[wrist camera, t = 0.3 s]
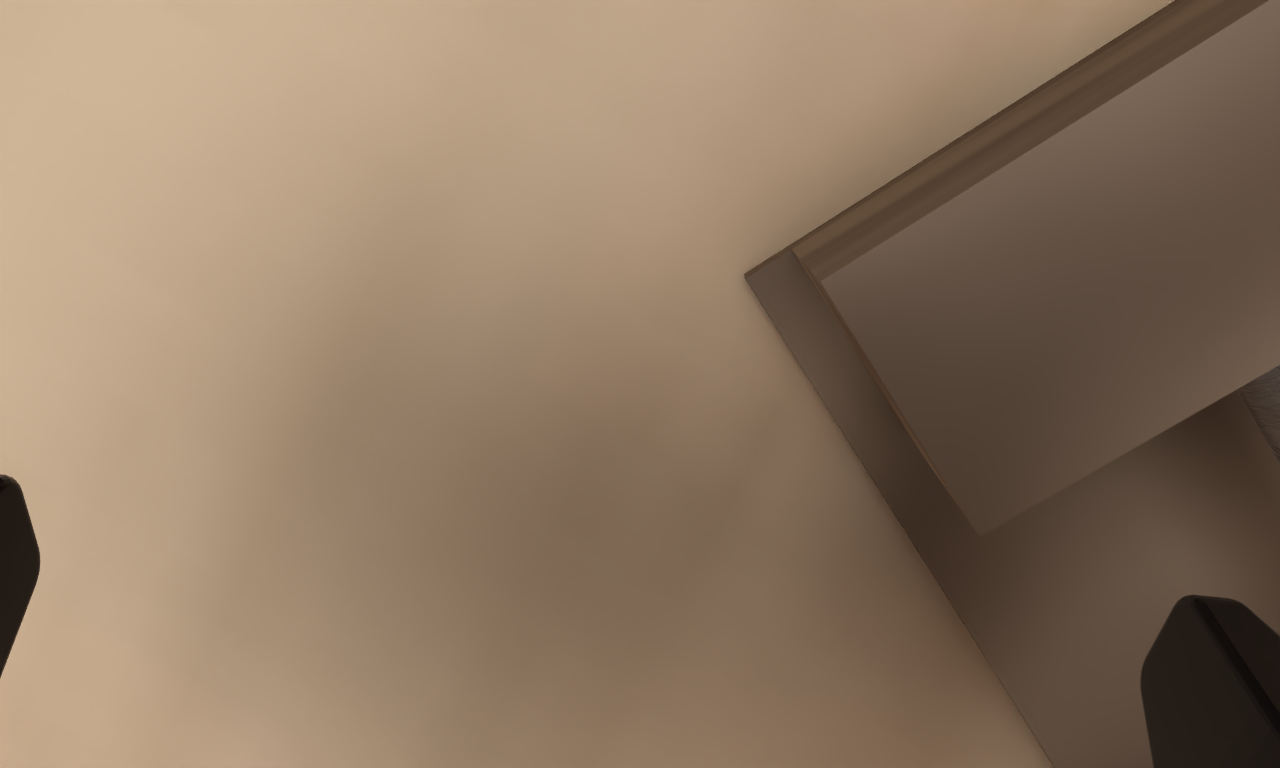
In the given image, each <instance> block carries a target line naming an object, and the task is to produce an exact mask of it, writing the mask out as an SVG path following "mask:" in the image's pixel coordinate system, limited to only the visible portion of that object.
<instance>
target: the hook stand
mask: <svg viewBox="0 0 1280 768" xmlns="http://www.w3.org/2000/svg"><path fill="white" fill-rule="evenodd" d="M744 275H745V279H746V281H747V282H748V284H749V286H750V287H751V289H752V290H753V292H754V293H755V295H756V297H757V298H758V300H759V301H760V303H761V305H762V306H763V308H764V309H765V311H766V312H767V314H768V316H769V317H770V319H771V320H772V322H773V323H774V325H775V327H776V328H777V330H778V331H779V333H780V335H781V336H782V338H783V339H784V341H785V342H786V344H787V346H788V347H789V349H790V350H791V352H792V353H793V355H794V357H795V358H796V360H797V361H798V363H799V365H800V366H801V368H802V369H803V371H804V372H805V374H806V376H807V377H808V379H809V380H810V382H811V383H812V385H813V387H814V388H815V390H816V391H817V393H818V395H819V396H820V398H821V399H822V401H823V402H824V404H825V406H826V407H827V409H828V410H829V412H830V413H831V415H832V417H833V418H834V420H835V421H836V423H837V425H838V426H839V428H840V429H841V431H842V432H843V434H844V436H845V437H846V439H847V440H848V442H849V443H850V445H851V447H852V448H853V450H854V451H855V453H856V455H857V456H858V458H859V459H860V461H861V462H862V464H863V466H864V467H865V469H866V470H867V472H868V473H869V475H870V477H871V478H872V480H873V481H874V483H875V485H876V486H877V488H878V489H879V491H880V492H881V494H882V496H883V497H884V499H885V500H886V502H887V503H888V505H889V507H890V508H891V510H892V511H893V513H894V515H895V516H896V518H897V519H898V521H899V522H900V524H901V526H902V527H903V529H904V530H905V532H906V533H907V535H908V537H909V538H910V540H911V541H912V543H913V545H914V546H915V548H916V549H917V551H918V552H919V554H920V556H921V557H922V559H923V560H924V562H925V564H926V565H927V567H928V568H929V570H930V571H931V573H932V575H933V576H934V578H935V579H936V581H937V582H938V584H939V586H940V587H941V589H942V590H943V592H944V594H945V595H946V597H947V598H948V600H949V601H950V603H951V605H952V606H953V608H954V609H955V611H956V612H957V614H958V616H959V617H960V619H961V620H962V622H963V624H964V625H965V627H966V628H967V630H968V631H969V633H970V635H971V636H972V638H973V639H974V641H975V642H976V644H977V646H978V647H979V649H980V650H981V652H982V654H983V655H984V657H985V658H986V660H987V661H988V663H989V665H990V666H991V668H992V669H993V671H994V672H995V674H996V676H997V677H998V679H999V680H1000V682H1001V684H1002V685H1003V687H1004V688H1005V690H1006V691H1007V693H1008V695H1009V696H1010V698H1011V699H1012V701H1013V702H1014V704H1015V706H1016V707H1017V709H1018V710H1019V712H1020V714H1021V715H1022V717H1023V718H1024V720H1025V721H1026V723H1027V725H1028V726H1029V728H1030V729H1031V731H1032V732H1033V734H1034V736H1035V737H1036V739H1037V740H1038V742H1039V744H1040V745H1041V747H1042V748H1043V750H1044V751H1045V753H1046V755H1047V756H1048V758H1049V759H1050V761H1051V762H1052V764H1053V766H1054V767H1055V768H1153V763H1152V757H1151V751H1150V745H1149V739H1148V733H1147V727H1146V721H1145V715H1144V709H1143V703H1142V697H1141V689H1140V677H1141V670H1142V666H1143V663H1144V660H1145V658H1146V656H1147V654H1148V652H1149V650H1150V649H1151V647H1152V645H1153V643H1154V641H1155V639H1156V638H1157V636H1158V634H1159V632H1160V630H1161V629H1162V627H1163V625H1164V623H1165V621H1166V619H1167V618H1168V616H1169V614H1170V612H1171V610H1172V608H1173V607H1174V605H1175V604H1176V602H1177V601H1178V600H1180V599H1181V598H1183V597H1184V596H1187V595H1202V596H1211V597H1221V598H1230V599H1234V600H1237V601H1239V602H1241V603H1243V604H1244V605H1245V606H1247V607H1248V608H1249V609H1250V610H1252V611H1253V612H1254V613H1255V614H1256V615H1257V616H1258V617H1260V618H1261V619H1262V620H1263V621H1264V622H1265V623H1266V624H1267V625H1269V626H1270V627H1271V628H1272V629H1273V630H1274V631H1275V632H1277V633H1278V634H1279V635H1280V463H1279V461H1278V459H1277V458H1276V456H1275V454H1274V453H1273V451H1272V449H1271V447H1270V446H1269V444H1268V442H1267V441H1266V439H1265V437H1264V435H1263V434H1262V432H1261V430H1260V429H1259V427H1258V425H1257V423H1256V422H1255V420H1254V418H1253V417H1252V415H1251V413H1250V412H1249V410H1248V408H1247V406H1246V405H1245V403H1244V401H1243V400H1242V398H1241V396H1240V394H1239V393H1238V391H1237V389H1238V388H1240V387H1242V386H1244V385H1245V384H1247V383H1249V382H1251V381H1252V380H1254V379H1256V378H1258V377H1259V376H1261V375H1263V374H1265V373H1266V372H1268V371H1270V370H1272V369H1273V368H1275V367H1277V366H1279V365H1280V0H1175V1H1174V2H1172V3H1171V4H1169V5H1167V6H1166V7H1164V8H1163V9H1161V10H1160V11H1158V12H1156V13H1155V14H1153V15H1152V16H1150V17H1149V18H1147V19H1145V20H1144V21H1142V22H1141V23H1139V24H1137V25H1136V26H1134V27H1133V28H1131V29H1130V30H1128V31H1126V32H1125V33H1123V34H1122V35H1120V36H1119V37H1117V38H1115V39H1114V40H1112V41H1111V42H1109V43H1108V44H1106V45H1104V46H1103V47H1101V48H1100V49H1098V50H1097V51H1095V52H1093V53H1092V54H1090V55H1089V56H1087V57H1086V58H1084V59H1082V60H1081V61H1079V62H1078V63H1076V64H1074V65H1073V66H1071V67H1070V68H1068V69H1067V70H1065V71H1063V72H1062V73H1060V74H1059V75H1057V76H1056V77H1054V78H1052V79H1051V80H1049V81H1048V82H1046V83H1045V84H1043V85H1041V86H1040V87H1038V88H1037V89H1035V90H1034V91H1032V92H1030V93H1029V94H1027V95H1026V96H1024V97H1023V98H1021V99H1019V100H1018V101H1016V102H1015V103H1013V104H1011V105H1010V106H1008V107H1007V108H1005V109H1004V110H1002V111H1000V112H999V113H997V114H996V115H994V116H993V117H991V118H989V119H988V120H986V121H985V122H983V123H982V124H980V125H978V126H977V127H975V128H974V129H972V130H971V131H969V132H967V133H966V134H964V135H963V136H961V137H960V138H958V139H956V140H955V141H953V142H952V143H950V144H949V145H947V146H945V147H944V148H942V149H941V150H939V151H937V152H936V153H934V154H933V155H931V156H930V157H928V158H926V159H925V160H923V161H922V162H920V163H919V164H917V165H915V166H914V167H912V168H911V169H909V170H908V171H906V172H904V173H903V174H901V175H900V176H898V177H897V178H895V179H893V180H892V181H890V182H889V183H887V184H886V185H884V186H882V187H881V188H879V189H878V190H876V191H874V192H873V193H871V194H870V195H868V196H867V197H865V198H863V199H862V200H860V201H859V202H857V203H856V204H854V205H852V206H851V207H849V208H848V209H846V210H845V211H843V212H841V213H840V214H838V215H837V216H835V217H834V218H832V219H830V220H829V221H827V222H826V223H824V224H823V225H821V226H819V227H818V228H816V229H815V230H813V231H811V232H810V233H808V234H807V235H805V236H804V237H802V238H800V239H799V240H797V241H796V242H794V243H793V244H791V245H789V246H788V247H786V248H785V249H783V250H782V251H780V252H778V253H777V254H775V255H774V256H772V257H771V258H769V259H767V260H766V261H764V262H763V263H761V264H760V265H758V266H756V267H755V268H753V269H752V270H750V271H748V272H747V273H745V274H744Z"/></svg>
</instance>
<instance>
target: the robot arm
mask: <svg viewBox="0 0 1280 768" xmlns="http://www.w3.org/2000/svg"><path fill="white" fill-rule="evenodd" d="M39 570H40V552H39V547H38V544H37V540H36V537H35V533H34V530H33V527H32V523H31V520H30V516H29V513H28V509H27V506H26V502H25V499H24V496H23V492H22V490H21V487H20V485H19V484H18V483H17V482H16V480H15V479H13V478H12V477H9V476H7V475H1V474H0V678H1V675H2V672H3V670H4V667H5V664H6V662H7V659H8V657H9V654H10V651H11V649H12V646H13V643H14V641H15V638H16V636H17V633H18V630H19V628H20V625H21V622H22V620H23V617H24V615H25V612H26V609H27V607H28V604H29V601H30V599H31V596H32V594H33V591H34V588H35V586H36V583H37V580H38V575H39ZM1140 689H1141V697H1142V703H1143V709H1144V715H1145V721H1146V727H1147V733H1148V739H1149V745H1150V751H1151V757H1152V763H1153V768H1280V635H1279V634H1278V633H1277V632H1275V631H1274V630H1273V629H1272V628H1271V627H1270V626H1269V625H1267V624H1266V623H1265V622H1264V621H1263V620H1262V619H1261V618H1260V617H1258V616H1257V615H1256V614H1255V613H1254V612H1253V611H1252V610H1250V609H1249V608H1248V607H1247V606H1245V605H1244V604H1243V603H1241V602H1239V601H1237V600H1234V599H1230V598H1221V597H1211V596H1202V595H1187V596H1184V597H1183V598H1181V599H1180V600H1178V601H1177V602H1176V604H1175V605H1174V607H1173V608H1172V610H1171V612H1170V614H1169V616H1168V618H1167V619H1166V621H1165V623H1164V625H1163V627H1162V629H1161V630H1160V632H1159V634H1158V636H1157V638H1156V639H1155V641H1154V643H1153V645H1152V647H1151V649H1150V650H1149V652H1148V654H1147V656H1146V658H1145V660H1144V663H1143V666H1142V670H1141V677H1140Z"/></svg>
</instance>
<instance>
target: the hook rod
mask: <svg viewBox="0 0 1280 768" xmlns="http://www.w3.org/2000/svg"><path fill="white" fill-rule="evenodd" d="M1237 391H1238V393H1239V394H1240V396H1241V398H1242V400H1243V401H1244V403H1245V405H1246V406H1247V408H1248V410H1249V412H1250V413H1251V415H1252V417H1253V418H1254V420H1255V422H1256V423H1257V425H1258V427H1259V429H1260V430H1261V432H1262V434H1263V435H1264V437H1265V439H1266V441H1267V442H1268V444H1269V446H1270V447H1271V449H1272V451H1273V453H1274V454H1275V456H1276V458H1277V459H1278V461H1279V463H1280V365H1279V366H1277V367H1275V368H1273V369H1272V370H1270V371H1268V372H1266V373H1265V374H1263V375H1261V376H1259V377H1258V378H1256V379H1254V380H1252V381H1251V382H1249V383H1247V384H1245V385H1244V386H1242V387H1240V388H1238V389H1237Z"/></svg>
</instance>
